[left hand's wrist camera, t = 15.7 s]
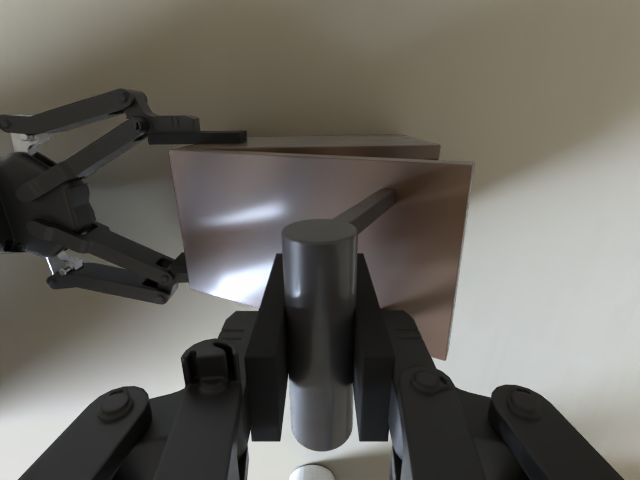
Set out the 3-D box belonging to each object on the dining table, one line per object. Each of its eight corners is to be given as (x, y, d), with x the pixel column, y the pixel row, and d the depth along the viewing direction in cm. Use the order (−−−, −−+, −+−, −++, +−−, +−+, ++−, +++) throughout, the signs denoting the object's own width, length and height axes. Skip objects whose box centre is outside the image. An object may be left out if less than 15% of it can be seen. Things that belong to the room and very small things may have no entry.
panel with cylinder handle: (475, 161, 15) (440, 215, 7) (448, 349, 18) (406, 521, 10) (181, 148, 22) (12, 167, 14) (200, 283, 25) (71, 356, 18)
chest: (402, 134, 32) (440, 145, 22) (395, 232, 35) (426, 280, 25) (222, 136, 32) (178, 148, 22) (232, 233, 35) (197, 282, 25)
